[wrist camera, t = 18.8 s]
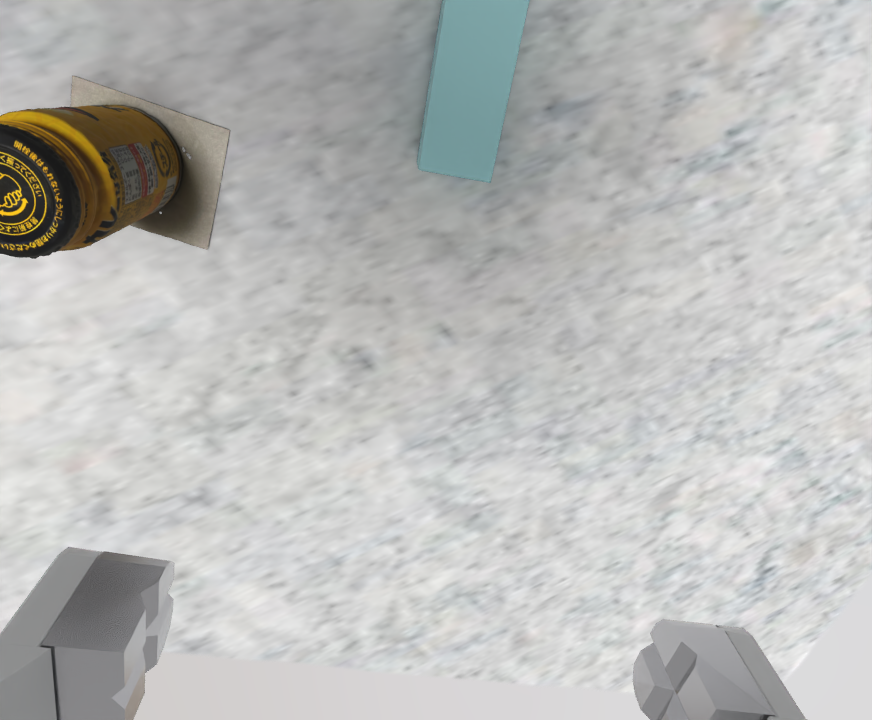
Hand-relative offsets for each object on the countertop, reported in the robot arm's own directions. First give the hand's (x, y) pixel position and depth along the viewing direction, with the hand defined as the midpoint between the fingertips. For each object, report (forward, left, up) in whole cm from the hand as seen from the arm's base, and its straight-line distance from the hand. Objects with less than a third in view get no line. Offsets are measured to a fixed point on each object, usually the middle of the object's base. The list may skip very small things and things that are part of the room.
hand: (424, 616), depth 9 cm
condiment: (-12, -10, -29) cm, 33 cm away
